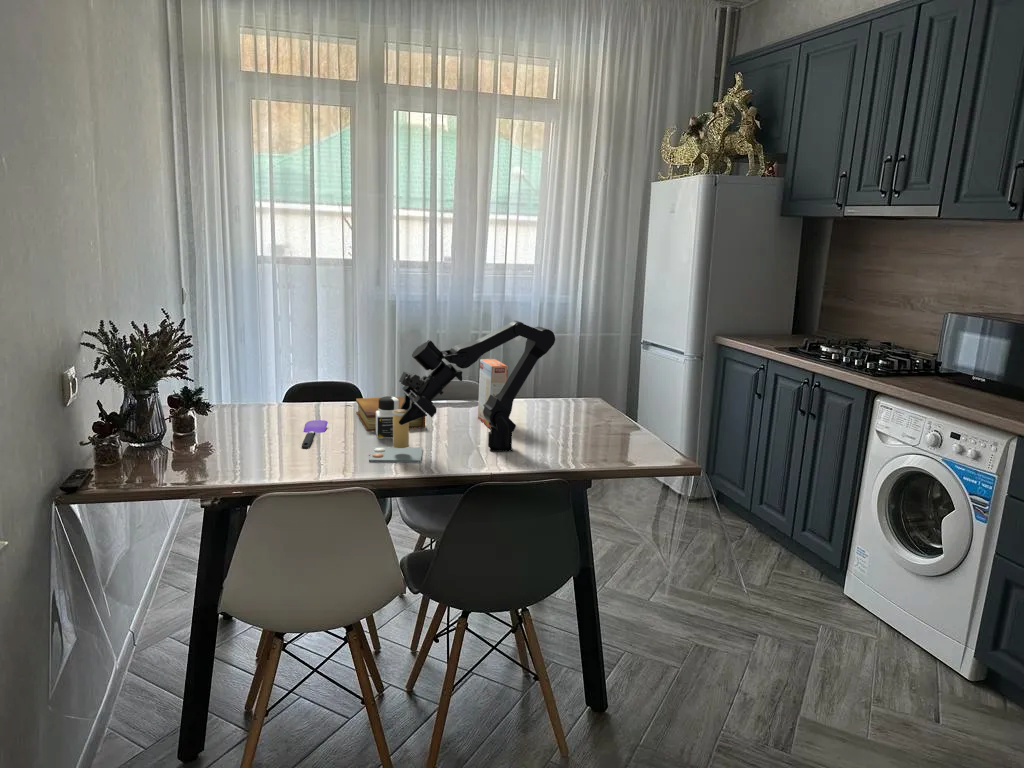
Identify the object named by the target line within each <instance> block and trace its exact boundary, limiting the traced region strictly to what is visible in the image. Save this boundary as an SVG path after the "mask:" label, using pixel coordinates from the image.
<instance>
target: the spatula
mask: <svg viewBox="0 0 1024 768" xmlns="http://www.w3.org/2000/svg"><path fill="white" fill-rule="evenodd" d="M328 423H329V421H328V420H324V419H322V420H321V419H318V420H317V419H316V420H315V419H314V420H309V421H306V422H305V424H304V427H303V433H305V434H306V435H305V437H304V439H303V441H302V443H301V448H302V449H305V450H307V449H309V448H310V447H311V445H312V443H313V441H314V436H315V435H316V434H317V433H320V434H321V433H322V434H323V433H325V432H326V430H327V425H328Z"/></svg>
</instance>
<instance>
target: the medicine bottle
mask: <svg viewBox="0 0 1024 768" xmlns="http://www.w3.org/2000/svg"><path fill="white" fill-rule="evenodd" d="M395 397H396V396H382V397H379V398H380V399H379V409H378V410H379V411H376V431H375V434H376V437H377V439H380V440H381V439H393V410H397V409H398V402H399V400H398V399H397V398H395Z"/></svg>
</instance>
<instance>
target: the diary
mask: <svg viewBox="0 0 1024 768" xmlns="http://www.w3.org/2000/svg"><path fill="white" fill-rule="evenodd" d="M394 397H395V398H397V399H398V400H399V402H398V409H400V408H401V406H402V404H403V402H404V396H394ZM380 398H381V397H363V398H355V399H356V400H355V401H356V403H357V411H355V414H356V415H357V417H358V419H359V421H361V423H362V425H363V426H364V428H365V430H366V431H367V432H373V431H375V432H376V411H379V410H378V409H379V399H380ZM425 427H426V416H423V417H421V418H418V419H415V420H413V421H410V422H409V430H410V429H423V428H425Z"/></svg>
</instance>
